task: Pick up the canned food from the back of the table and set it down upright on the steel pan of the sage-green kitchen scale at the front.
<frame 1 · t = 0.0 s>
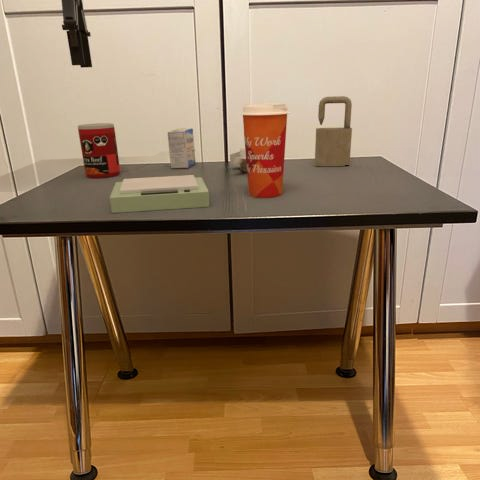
hand: (82, 66, 112), 23 cm above the table, tool pointing down, fingers open, 13 cm apart
medicine box: (183, 167, 121), on the table
bunny figurine: (250, 171, 112), on the table
scale: (160, 200, 85), on the table
coffee cup: (265, 195, 88), on the table
canned food: (103, 176, 112), on the table
padlock: (331, 166, 115), on the table
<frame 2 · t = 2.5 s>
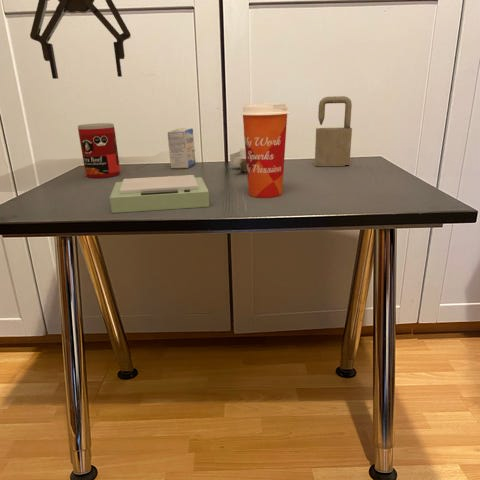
hand: (88, 77, 104), 20 cm above the table, tool pointing down, fingers open, 13 cm apart
nothing on the table moved.
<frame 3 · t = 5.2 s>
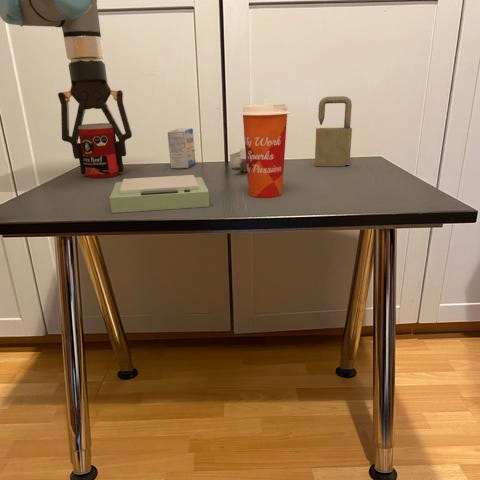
hand: (103, 172, 112), 1 cm above the table, tool pointing down, fingers closed on canned food, 8 cm apart
canned food: (103, 176, 112), on the table, touching gripper
everything else where it was.
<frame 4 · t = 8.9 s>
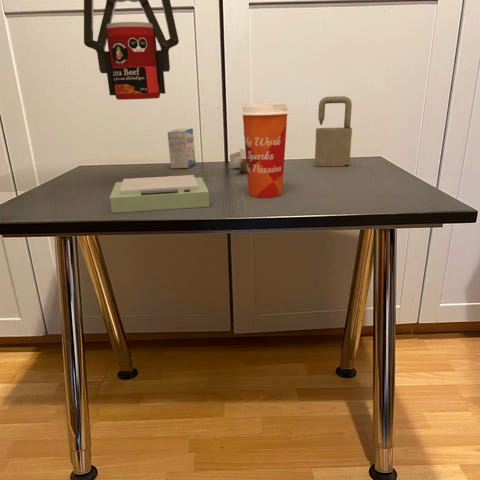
hand: (137, 94, 83), 17 cm above the table, tool pointing down, fingers closed on canned food, 8 cm apart
canned food: (138, 100, 83), point 16 cm above the table, touching gripper
everything else where it was.
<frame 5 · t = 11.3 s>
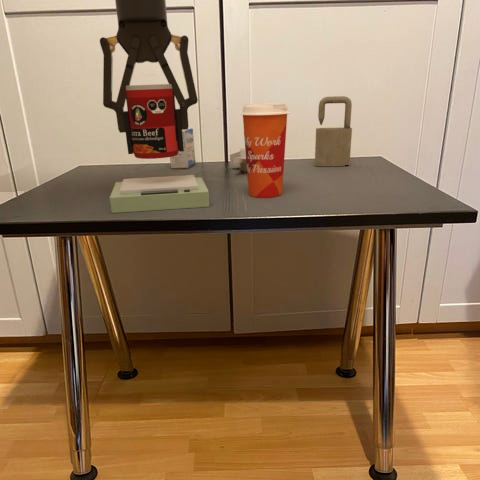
hand: (156, 151, 82), 8 cm above the table, tool pointing down, fingers closed on canned food, 8 cm apart
canned food: (156, 157, 83), point 7 cm above the table, touching gripper
everything else where it was.
when the fingers open (4 cm above the table, at t = 12.8 s): canned food stays where it is, resting on scale.
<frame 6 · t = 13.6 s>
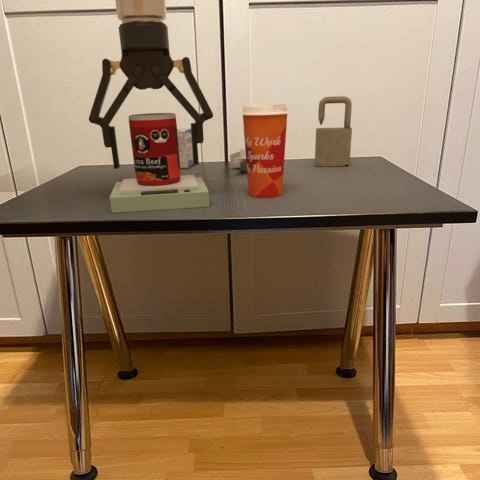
hand: (156, 165, 84), 6 cm above the table, tool pointing down, fingers open, 13 cm apart
canned food: (159, 183, 85), point 3 cm above the table, touching scale
everything else where it was.
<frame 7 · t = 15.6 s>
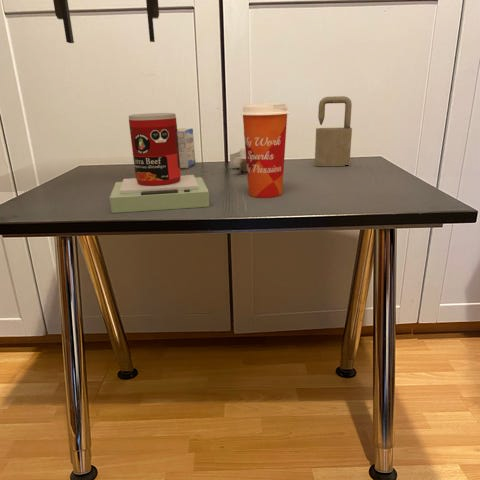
hand: (111, 42, 81), 25 cm above the table, tool pointing down, fingers open, 13 cm apart
nothing on the table moved.
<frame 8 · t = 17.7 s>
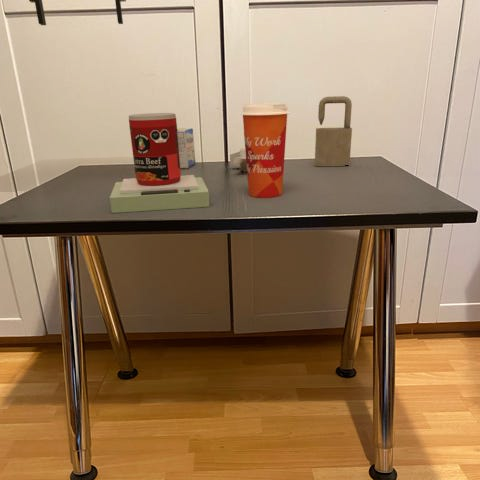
hand: (82, 24, 86), 29 cm above the table, tool pointing down, fingers open, 13 cm apart
nothing on the table moved.
at the end: canned food inside the target area on the scale (0.0 cm from its centre), point 2.9 cm above the scale's base; canned food tilted 0°; the gripper is holding nothing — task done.
